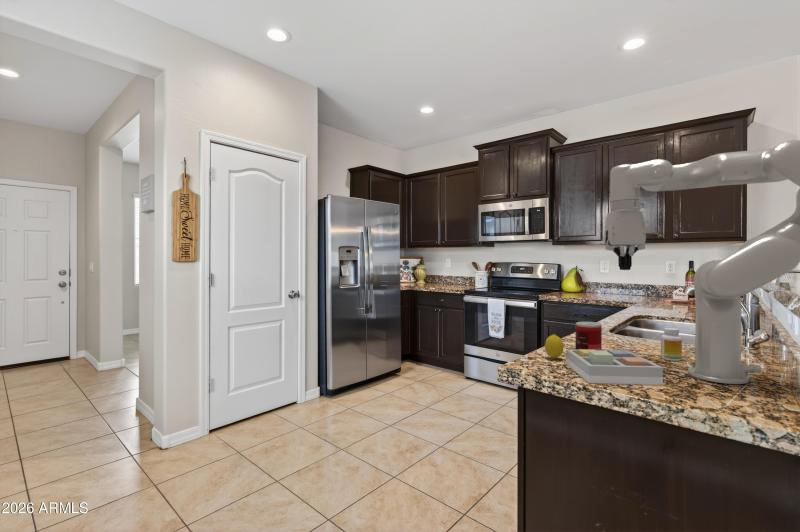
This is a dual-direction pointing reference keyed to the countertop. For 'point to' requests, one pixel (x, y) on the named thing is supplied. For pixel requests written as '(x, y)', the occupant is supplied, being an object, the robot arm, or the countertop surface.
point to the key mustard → (584, 352)
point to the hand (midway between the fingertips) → (625, 269)
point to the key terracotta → (633, 361)
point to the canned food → (588, 335)
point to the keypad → (615, 371)
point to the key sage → (600, 358)
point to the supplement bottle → (671, 345)
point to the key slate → (620, 353)
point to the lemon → (554, 346)
